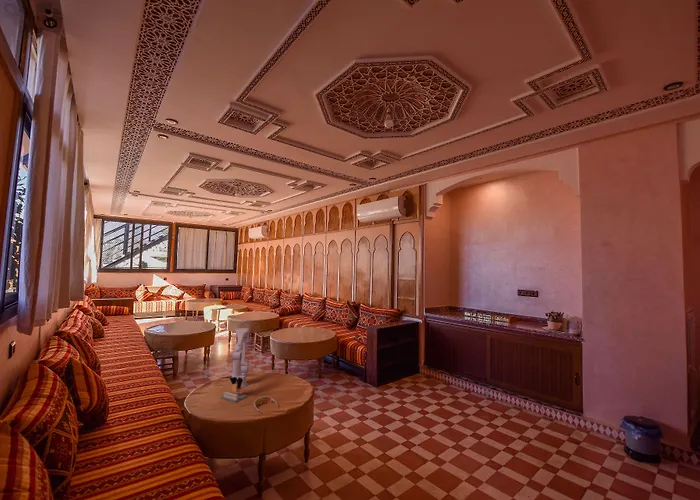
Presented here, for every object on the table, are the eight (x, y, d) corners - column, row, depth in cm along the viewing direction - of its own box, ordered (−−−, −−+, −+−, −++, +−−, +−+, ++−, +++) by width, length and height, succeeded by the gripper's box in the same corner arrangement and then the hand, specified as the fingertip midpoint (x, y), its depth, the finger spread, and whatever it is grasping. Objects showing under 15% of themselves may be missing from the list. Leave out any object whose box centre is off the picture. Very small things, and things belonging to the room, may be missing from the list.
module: (232, 391, 228) (232, 384, 228) (237, 389, 232) (237, 381, 232) (236, 392, 226) (236, 385, 226) (241, 390, 230) (241, 382, 231)
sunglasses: (269, 400, 223) (270, 394, 223) (280, 411, 212) (281, 404, 211) (250, 406, 214) (251, 399, 213) (260, 418, 202) (261, 411, 202)
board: (220, 398, 225) (220, 393, 225) (232, 393, 235) (232, 387, 235) (235, 402, 219) (235, 397, 219) (247, 396, 229) (247, 391, 229)
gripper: (225, 368, 229) (224, 387, 229) (240, 371, 223) (239, 391, 222) (232, 365, 235) (232, 384, 235) (247, 368, 229) (247, 388, 229)
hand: (236, 387), depth 229 cm, fingers closed on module, 4 cm apart
